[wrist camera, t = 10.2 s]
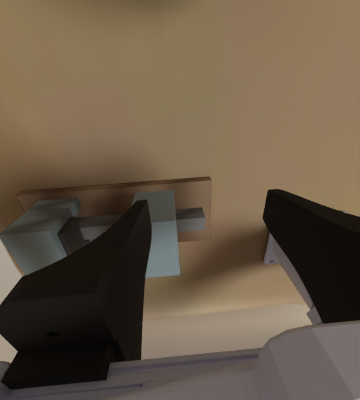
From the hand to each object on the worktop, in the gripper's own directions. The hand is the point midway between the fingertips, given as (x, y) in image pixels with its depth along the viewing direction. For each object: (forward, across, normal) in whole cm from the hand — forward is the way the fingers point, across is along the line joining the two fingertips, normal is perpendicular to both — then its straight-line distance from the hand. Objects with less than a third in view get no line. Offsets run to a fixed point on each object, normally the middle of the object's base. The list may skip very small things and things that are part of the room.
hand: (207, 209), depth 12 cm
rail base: (+9, +8, +6) cm, 14 cm away
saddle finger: (+8, +4, +6) cm, 11 cm away
